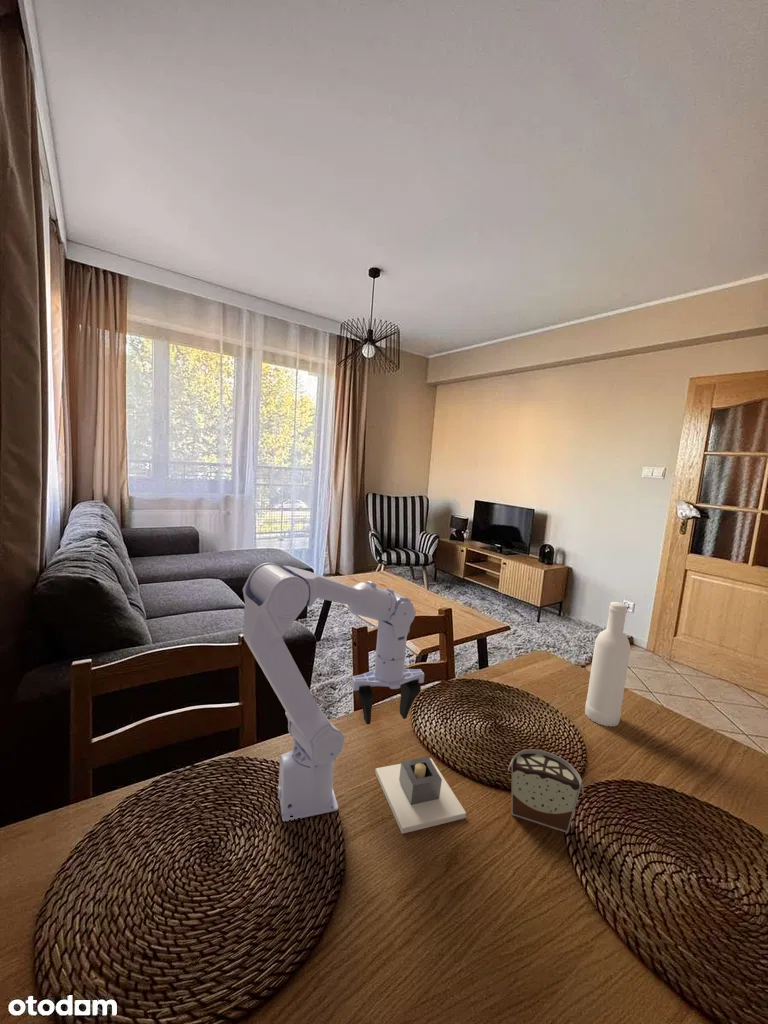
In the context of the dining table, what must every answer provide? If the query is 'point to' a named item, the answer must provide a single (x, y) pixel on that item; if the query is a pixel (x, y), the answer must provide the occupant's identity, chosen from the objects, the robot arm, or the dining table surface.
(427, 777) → the collar
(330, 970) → the dining table surface
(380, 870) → the dining table surface
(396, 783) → the shaft board
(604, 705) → the bottle
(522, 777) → the food container
